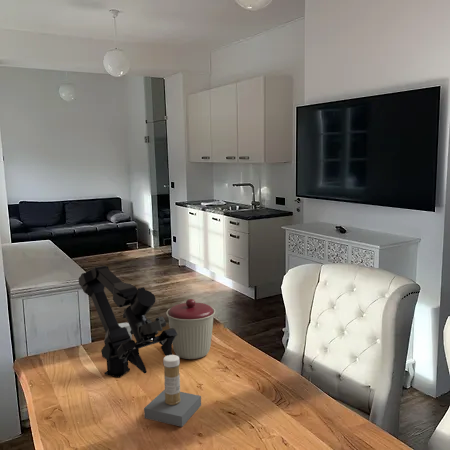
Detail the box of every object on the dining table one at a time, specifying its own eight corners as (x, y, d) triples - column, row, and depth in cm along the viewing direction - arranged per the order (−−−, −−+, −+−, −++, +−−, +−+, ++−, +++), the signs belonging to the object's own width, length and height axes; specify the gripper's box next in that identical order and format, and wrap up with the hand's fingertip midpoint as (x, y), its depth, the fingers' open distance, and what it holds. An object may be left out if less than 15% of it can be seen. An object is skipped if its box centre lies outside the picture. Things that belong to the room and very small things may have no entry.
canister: (189, 340, 188) (187, 289, 185) (225, 351, 177) (224, 297, 174) (157, 356, 173) (155, 301, 170) (195, 368, 163) (193, 310, 160)
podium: (144, 418, 132) (144, 408, 132) (165, 397, 143) (165, 388, 143) (182, 426, 128) (181, 416, 127) (201, 405, 139) (200, 395, 138)
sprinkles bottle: (172, 396, 138) (171, 352, 136) (184, 400, 135) (182, 356, 134) (161, 402, 135) (159, 358, 133) (172, 407, 132) (171, 362, 130)
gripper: (119, 316, 135) (141, 365, 128) (173, 303, 147) (195, 347, 140) (108, 335, 142) (127, 382, 135) (160, 320, 154) (180, 363, 147)
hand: (159, 368), depth 139 cm, fingers open, 9 cm apart
